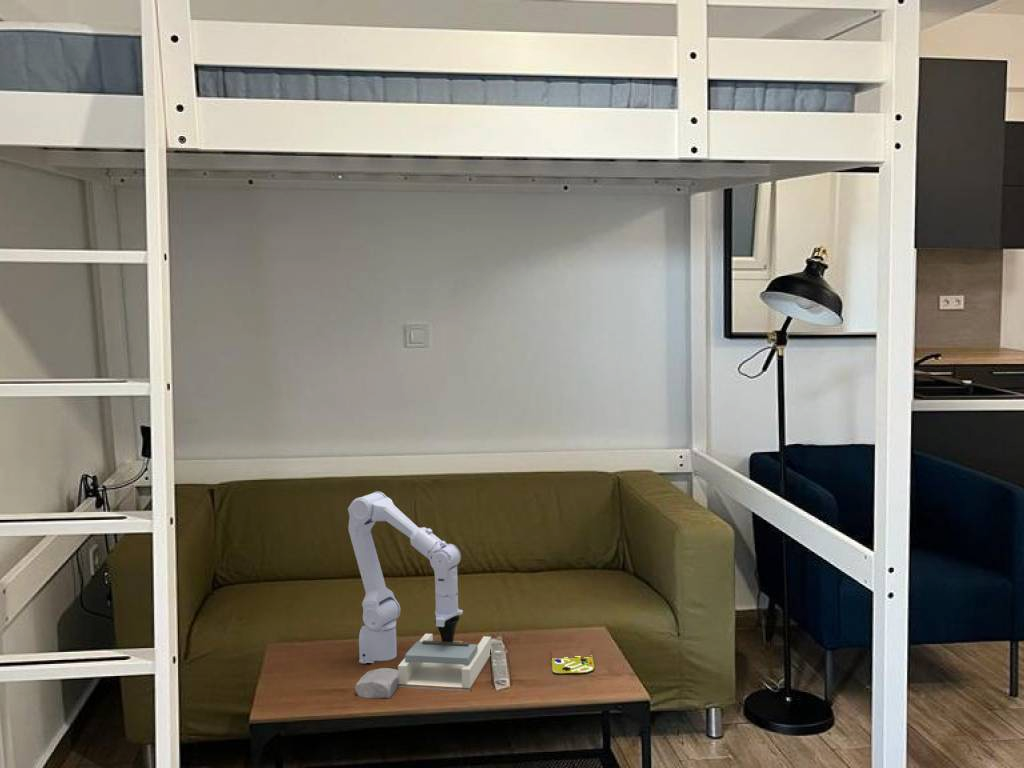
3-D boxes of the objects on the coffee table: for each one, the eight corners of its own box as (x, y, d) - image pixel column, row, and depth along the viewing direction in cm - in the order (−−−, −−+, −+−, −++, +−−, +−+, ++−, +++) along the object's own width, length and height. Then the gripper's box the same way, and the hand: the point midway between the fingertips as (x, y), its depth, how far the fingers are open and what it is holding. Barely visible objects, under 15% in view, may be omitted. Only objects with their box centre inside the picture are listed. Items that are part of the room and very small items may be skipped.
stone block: (354, 705, 242) (393, 699, 240) (349, 685, 241) (389, 679, 240) (369, 687, 253) (407, 682, 251) (365, 669, 253) (403, 663, 251)
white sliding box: (398, 687, 247) (398, 665, 246) (425, 653, 270) (425, 633, 270) (470, 691, 243) (469, 669, 243) (491, 656, 267) (491, 636, 266)
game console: (549, 652, 271) (549, 647, 271) (590, 651, 271) (590, 646, 271) (552, 677, 253) (552, 671, 253) (597, 676, 253) (597, 671, 253)
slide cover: (405, 661, 249) (404, 652, 248) (416, 647, 258) (416, 639, 258) (468, 664, 245) (468, 656, 245) (477, 650, 255) (477, 642, 255)
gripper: (454, 602, 249) (456, 656, 250) (468, 585, 263) (469, 636, 264) (427, 601, 250) (428, 654, 251) (442, 585, 264) (443, 635, 265)
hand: (447, 645), depth 258 cm, fingers closed
